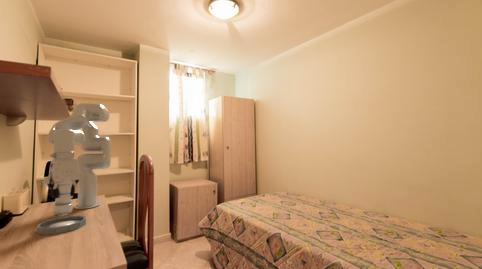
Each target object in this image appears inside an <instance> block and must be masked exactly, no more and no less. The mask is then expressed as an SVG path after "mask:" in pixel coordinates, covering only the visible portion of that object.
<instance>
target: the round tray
mask: <svg viewBox="0 0 482 269" xmlns="http://www.w3.org/2000/svg"><path fill="white" fill-rule="evenodd" d="M86 224H87V216H84V215H65V216H59V217H56V218H51V219H47V220H45V221H42V222H40V223H38V224H37V226H36V234H38V235H42V236H46V235H47V236H48V235H56V234H63V233H68V232H72V231H75V230H78V229H81V228H83V227H84V226H85V225H86Z"/></svg>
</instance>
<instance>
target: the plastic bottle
mask: <svg viewBox="0 0 482 269" xmlns="http://www.w3.org/2000/svg"><path fill="white" fill-rule="evenodd" d="M54 184H55V183H54ZM71 188H72V181H71V180H66V181H63V182H58V186H57V189H58V198H54V200H55V201H54V207H53V215H54V216H57V217H58V216H59V217H65V216H68V215H70V214H72V212H73V205H72V195H71Z"/></svg>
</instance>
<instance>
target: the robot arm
mask: <svg viewBox="0 0 482 269" xmlns="http://www.w3.org/2000/svg"><path fill="white" fill-rule="evenodd" d="M109 119H110V111H109V110H108V108H107V107H105V106H104V105H103V104H101V103H90V102H80V103H78V104H77V105H76V106H75V107H74V109H73V111H72V113H71V114H70V115H69V116H68V117H66V118H64V119H61V120H58V121H57V122H55V123H54V124H53V125H52V127H51V129H50V130H49V132H48V135H47V140H48V143H49V144H50V145H52V146H53V152H52V153H50V154H49V157H50V158H52V159H51V161H50V165H49V169H48V170H49V171H48V176H46V178H44V179H43V180H42V184H44V185H45V186H46V187H48V188H49V189H50V192H51V193H50V196H51V199H56V198H58V189H57V186H58V182H63V181H66V180H71V181H72V188H71V196H74V195H75V192H76V186H77V199H76V200H75V203H77V204H75V206H74V209H75V210H86V209H93V208H97V207H99V206H100V205H101V203H100V202H98V175H97V174H96V173H95V171H94V170H106V169H108V168H109V167H111V166H110V165H111V160H112V159H111V158H112V140H111V138H110V137H108V136H99V133H100V132H99V127H98V126H97V125H96V124H95V123H94V122H99V123H103V122H108V120H109ZM81 129H82V130H81ZM80 145H81V150H82V151H83V152H87V153H82V154H80V155H79V156H77V158H75V146H80ZM98 152H99V153H98ZM100 152H101V153H100ZM54 183H55V184H54Z"/></svg>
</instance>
